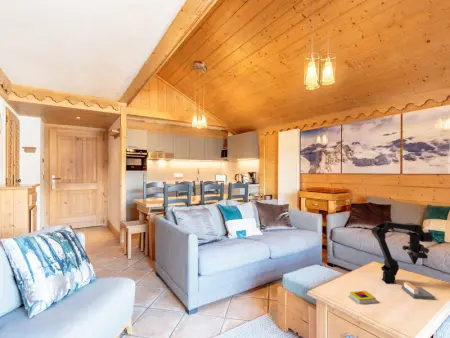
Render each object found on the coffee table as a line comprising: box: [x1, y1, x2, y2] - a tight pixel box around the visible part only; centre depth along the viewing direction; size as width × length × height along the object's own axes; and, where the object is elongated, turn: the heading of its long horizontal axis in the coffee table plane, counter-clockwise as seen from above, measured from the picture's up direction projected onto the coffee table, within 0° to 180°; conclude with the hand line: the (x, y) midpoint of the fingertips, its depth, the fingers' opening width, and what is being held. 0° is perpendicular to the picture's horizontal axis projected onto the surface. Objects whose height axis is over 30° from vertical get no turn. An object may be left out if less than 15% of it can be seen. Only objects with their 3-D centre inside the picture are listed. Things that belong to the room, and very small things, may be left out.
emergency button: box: [347, 290, 380, 305], centre depth 151 cm, size 9×4×15 cm
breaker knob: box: [403, 281, 418, 294], centre depth 158 cm, size 2×10×3 cm, turn 174°
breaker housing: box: [401, 285, 436, 301], centre depth 158 cm, size 12×12×2 cm
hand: (414, 263), depth 174 cm, fingers closed
